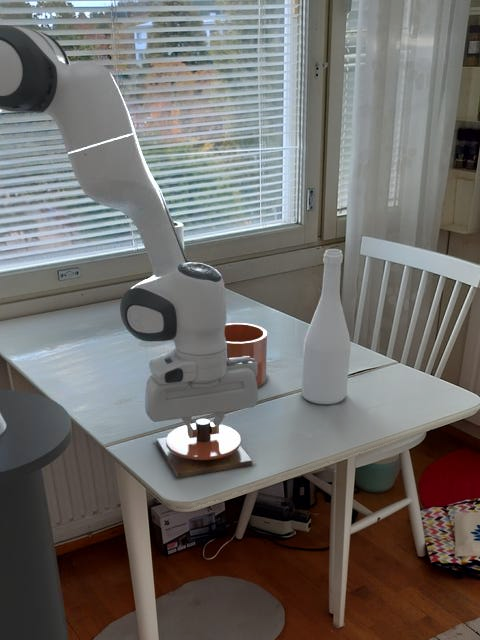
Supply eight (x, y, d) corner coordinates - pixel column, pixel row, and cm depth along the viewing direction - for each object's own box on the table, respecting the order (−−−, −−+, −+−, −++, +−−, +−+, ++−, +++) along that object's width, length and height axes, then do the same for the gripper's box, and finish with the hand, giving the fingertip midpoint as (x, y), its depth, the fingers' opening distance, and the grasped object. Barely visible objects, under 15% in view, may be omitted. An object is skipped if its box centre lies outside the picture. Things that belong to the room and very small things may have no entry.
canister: (219, 393, 167) (219, 346, 161) (201, 372, 177) (200, 326, 171) (274, 385, 171) (275, 339, 165) (253, 365, 180) (254, 320, 174)
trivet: (177, 478, 137) (177, 473, 136) (156, 443, 148) (156, 438, 147) (252, 465, 141) (252, 460, 140) (226, 432, 152) (226, 427, 151)
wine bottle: (304, 385, 171) (312, 243, 154) (348, 389, 169) (360, 246, 152) (297, 403, 163) (305, 255, 146) (343, 407, 161) (356, 258, 145)
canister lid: (178, 468, 136) (177, 444, 133) (157, 434, 147) (156, 411, 144) (251, 455, 140) (252, 431, 137) (226, 423, 151) (226, 401, 148)
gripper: (251, 348, 140) (250, 419, 148) (139, 363, 134) (145, 435, 142) (264, 361, 135) (262, 433, 143) (149, 376, 129) (154, 451, 137)
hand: (203, 434), depth 142 cm, fingers closed on canister lid, 2 cm apart
